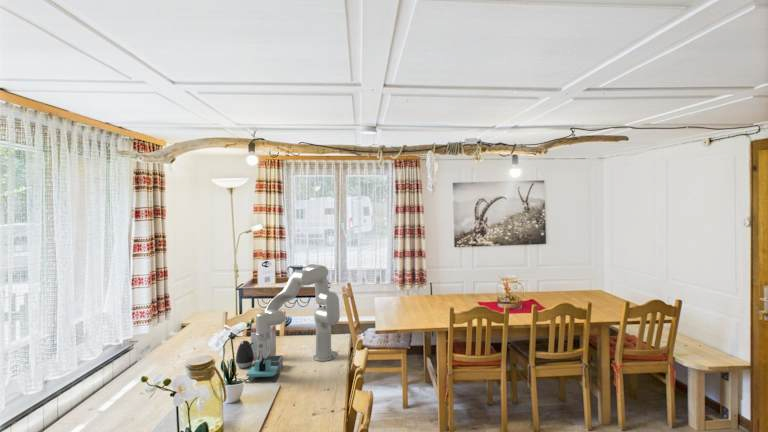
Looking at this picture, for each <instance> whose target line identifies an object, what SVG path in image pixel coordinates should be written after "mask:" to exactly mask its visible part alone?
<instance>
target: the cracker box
mask: <svg viewBox="0 0 768 432" xmlns="http://www.w3.org/2000/svg"><path fill="white" fill-rule="evenodd" d="M276 329H277V325H271V326H270V354H269V356H276V355H277V330H276ZM252 342H253V344H252V345H251V347H252V350H253V354H254V360H253V362H255V360H256V359H257V343H258V340H256V324H254V325H252V326H251V327H250V343H252Z"/></svg>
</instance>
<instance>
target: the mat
mask: <svg viewBox="0 0 768 432" xmlns="http://www.w3.org/2000/svg"><path fill="white" fill-rule="evenodd" d="M280 374H281V371H279V372H276V373H275V375H274V376H270V377H250V376H247V378H246V380H249V381H250V382H252V383H251V384H256V383H257V384H261V383H262V384H265V383H276V382H277V380H278V378H279V376H280ZM245 384H248V383H247V382H246V383H245Z"/></svg>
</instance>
